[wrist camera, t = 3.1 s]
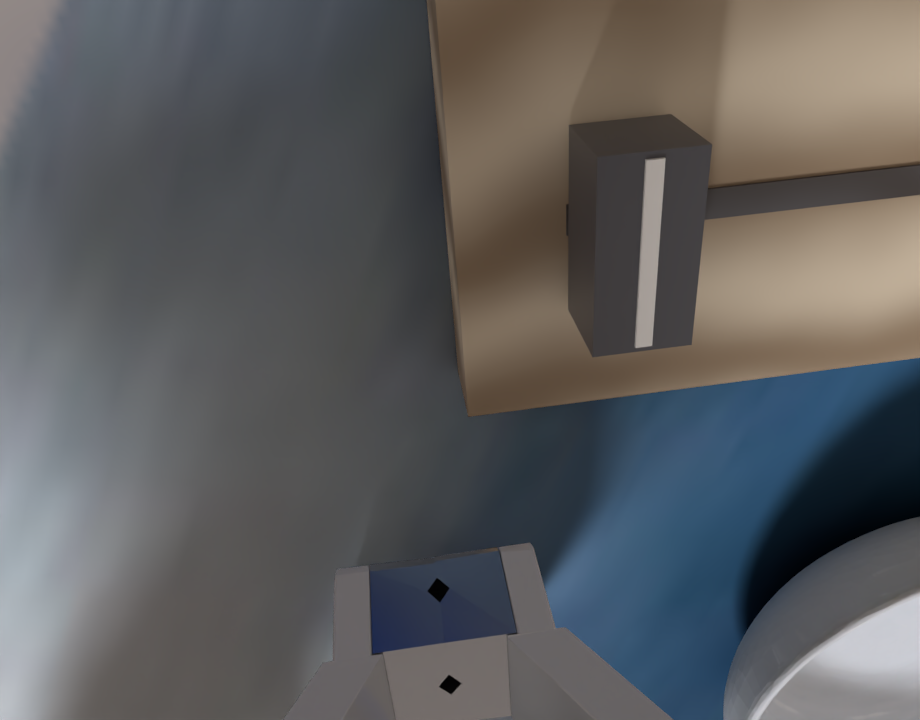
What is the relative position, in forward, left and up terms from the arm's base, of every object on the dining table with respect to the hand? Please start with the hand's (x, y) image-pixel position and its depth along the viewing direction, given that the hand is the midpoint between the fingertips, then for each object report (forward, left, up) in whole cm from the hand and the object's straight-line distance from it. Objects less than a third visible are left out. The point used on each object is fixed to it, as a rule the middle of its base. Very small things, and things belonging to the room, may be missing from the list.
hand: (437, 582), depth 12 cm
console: (0, -15, -17) cm, 23 cm away
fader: (0, -7, -14) cm, 15 cm away
